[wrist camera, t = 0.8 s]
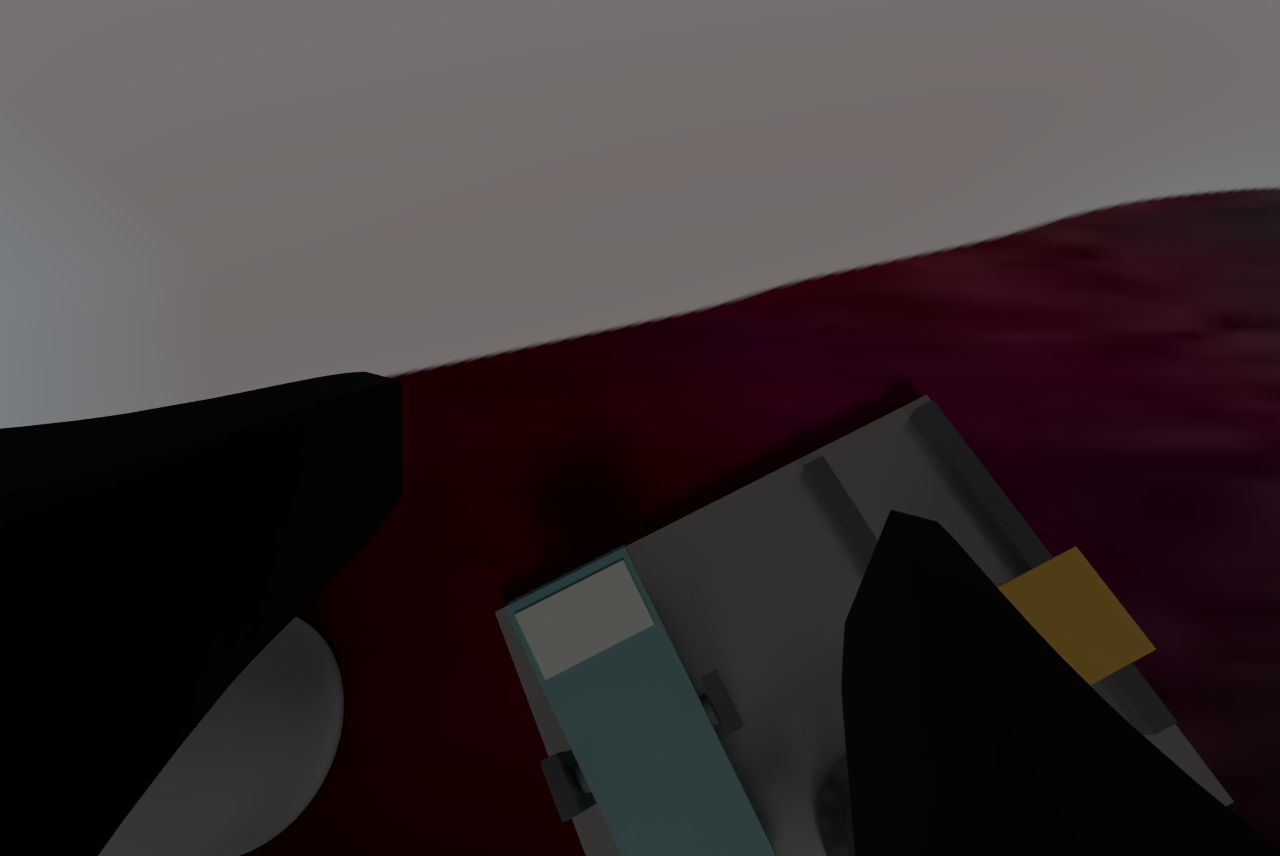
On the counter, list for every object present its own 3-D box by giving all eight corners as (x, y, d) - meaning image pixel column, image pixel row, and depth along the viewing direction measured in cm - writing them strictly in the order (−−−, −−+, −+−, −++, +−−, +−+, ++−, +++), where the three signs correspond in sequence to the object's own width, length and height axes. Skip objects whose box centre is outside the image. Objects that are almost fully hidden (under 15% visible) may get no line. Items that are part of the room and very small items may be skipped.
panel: (1207, 797, 21) (1361, 822, 16) (685, 1093, 20) (669, 1223, 15) (918, 408, 27) (962, 335, 22) (505, 616, 26) (448, 591, 21)
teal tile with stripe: (791, 870, 20) (802, 893, 19) (663, 941, 20) (665, 968, 18) (630, 541, 21) (630, 544, 19) (503, 604, 20) (497, 611, 19)
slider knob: (1075, 662, 22) (1156, 649, 18) (994, 706, 21) (1055, 703, 17) (1014, 577, 23) (1076, 546, 19) (936, 618, 23) (981, 596, 19)
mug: (124, 576, 28) (-255, 486, 18) (319, 505, 29) (63, 373, 18) (129, 897, 24) (-389, 1050, 13) (362, 809, 24) (49, 887, 13)
